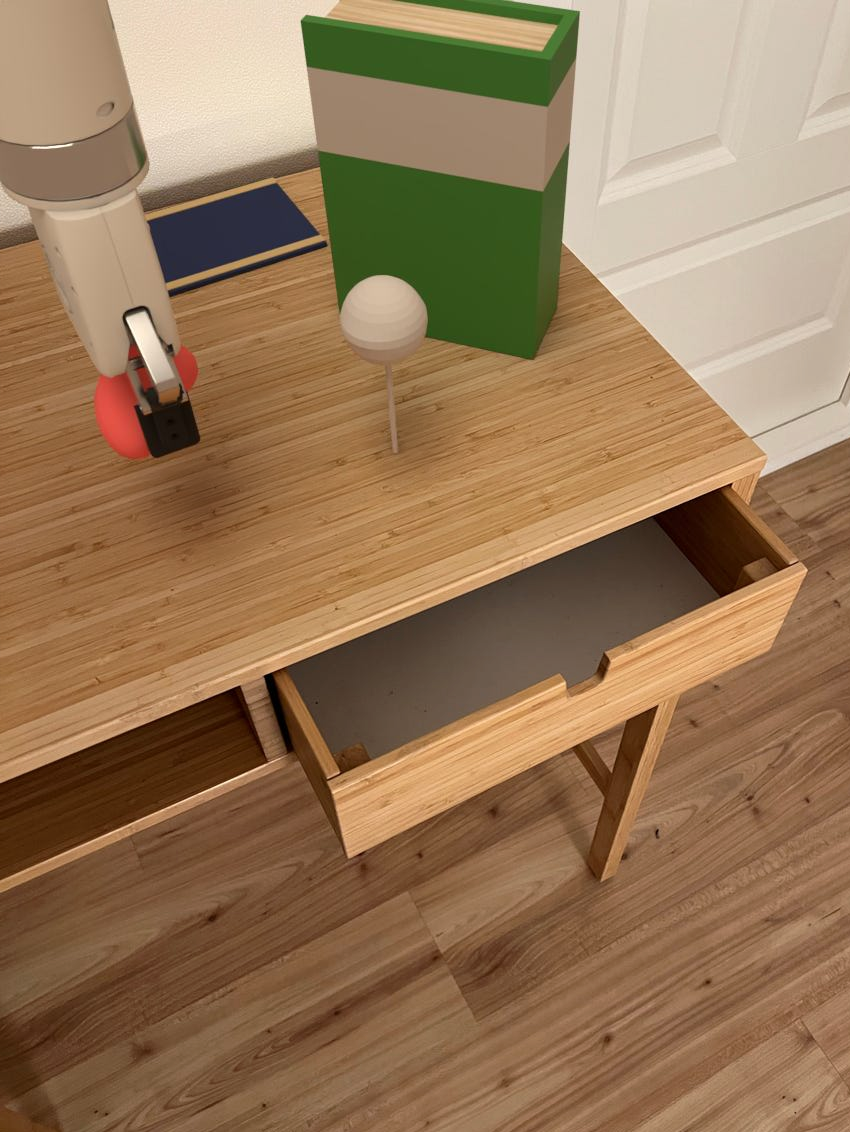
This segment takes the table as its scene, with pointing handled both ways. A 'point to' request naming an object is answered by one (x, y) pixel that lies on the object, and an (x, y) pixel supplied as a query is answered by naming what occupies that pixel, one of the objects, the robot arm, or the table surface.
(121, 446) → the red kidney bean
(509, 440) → the table surface
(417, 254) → the hardback book
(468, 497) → the table surface
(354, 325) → the lollipop
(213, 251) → the cloth
